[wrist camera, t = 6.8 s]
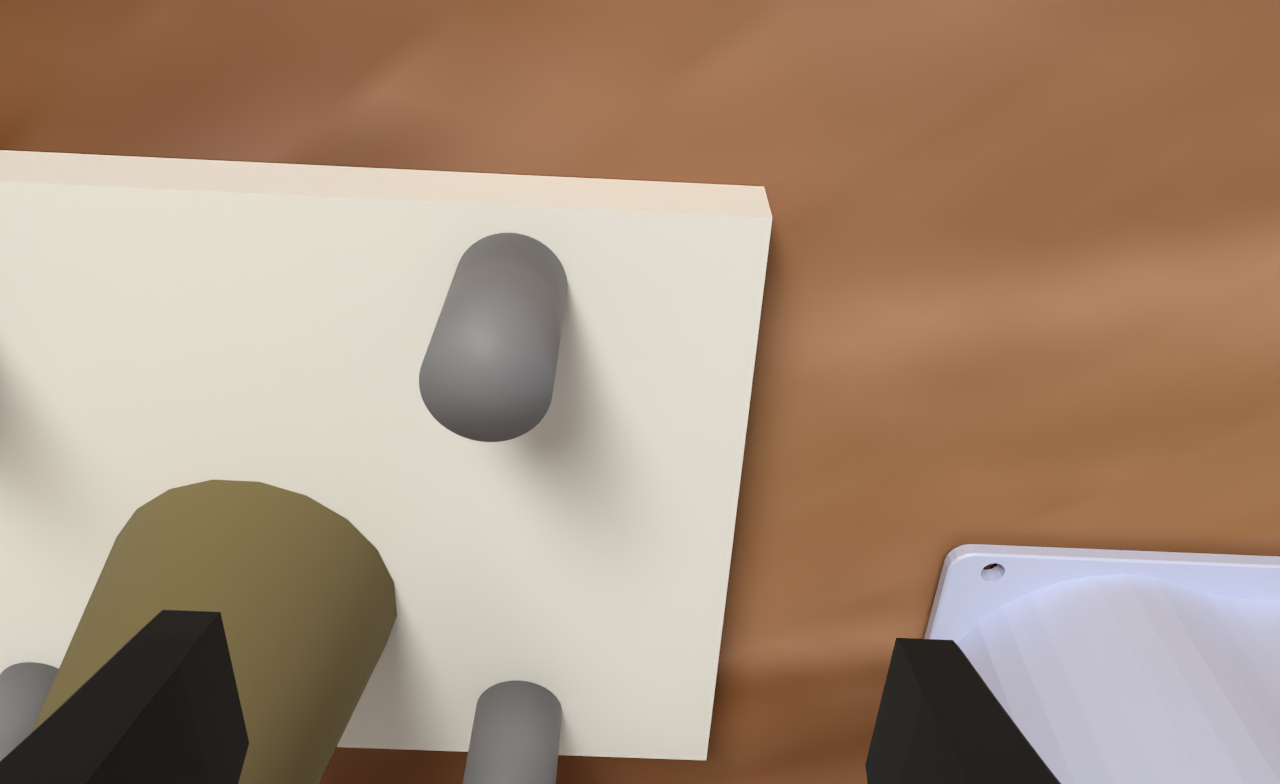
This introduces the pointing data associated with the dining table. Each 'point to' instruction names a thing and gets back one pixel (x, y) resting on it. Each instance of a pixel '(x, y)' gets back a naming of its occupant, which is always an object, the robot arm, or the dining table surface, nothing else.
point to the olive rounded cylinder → (250, 611)
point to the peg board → (399, 422)
